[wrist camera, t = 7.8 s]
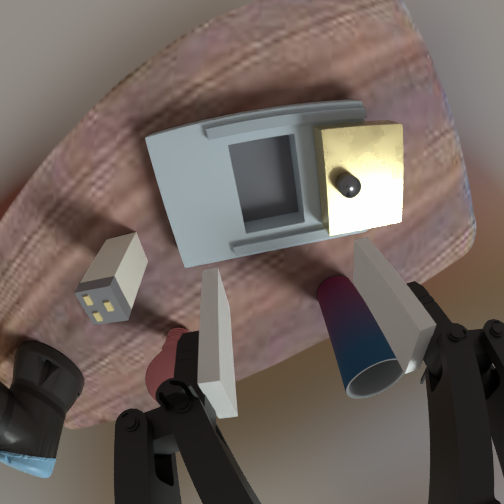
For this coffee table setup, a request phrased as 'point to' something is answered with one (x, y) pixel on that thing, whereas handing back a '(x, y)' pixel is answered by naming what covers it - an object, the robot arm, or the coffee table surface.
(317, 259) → the coffee table surface
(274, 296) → the coffee table surface
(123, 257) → the plug
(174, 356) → the light bulb
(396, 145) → the panel
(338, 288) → the cup
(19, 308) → the coffee table surface
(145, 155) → the coffee table surface
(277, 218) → the socket board
